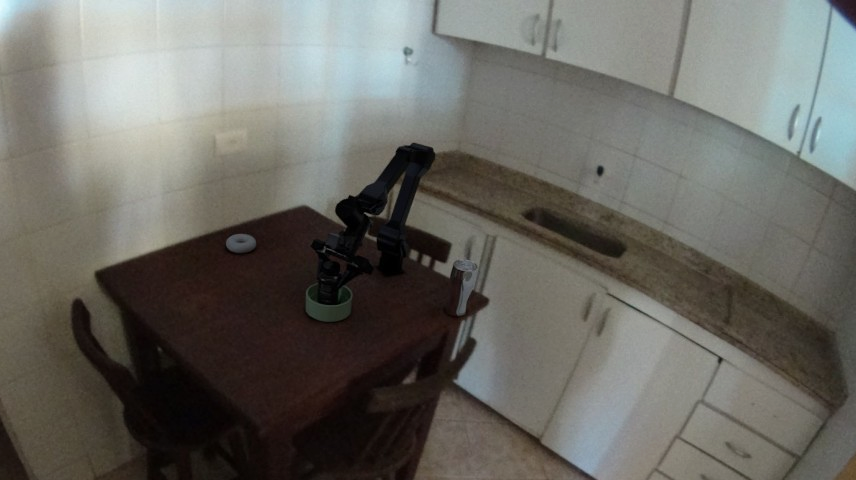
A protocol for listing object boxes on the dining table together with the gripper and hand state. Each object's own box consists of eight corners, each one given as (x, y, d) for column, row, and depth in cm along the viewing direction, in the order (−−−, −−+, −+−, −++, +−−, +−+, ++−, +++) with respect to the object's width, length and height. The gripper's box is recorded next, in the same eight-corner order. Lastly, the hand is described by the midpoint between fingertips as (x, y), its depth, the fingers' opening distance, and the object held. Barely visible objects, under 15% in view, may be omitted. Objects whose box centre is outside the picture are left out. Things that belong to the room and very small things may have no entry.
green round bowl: (338, 294, 181) (339, 278, 178) (359, 317, 172) (360, 300, 168) (298, 303, 177) (298, 287, 173) (317, 327, 167) (318, 310, 164)
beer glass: (463, 320, 172) (473, 273, 163) (439, 312, 175) (448, 266, 166) (471, 309, 177) (482, 263, 168) (448, 302, 180) (457, 256, 171)
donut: (224, 254, 199) (255, 255, 199) (223, 245, 197) (254, 245, 197) (228, 241, 207) (257, 241, 207) (227, 231, 205) (257, 232, 205)
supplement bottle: (345, 305, 172) (348, 268, 164) (324, 311, 169) (326, 273, 162) (334, 293, 176) (336, 256, 169) (313, 298, 174) (314, 261, 167)
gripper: (315, 211, 166) (288, 261, 166) (372, 232, 157) (343, 285, 156) (331, 228, 176) (306, 276, 175) (385, 249, 166) (359, 299, 166)
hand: (327, 283), depth 168 cm, fingers closed on supplement bottle, 7 cm apart
